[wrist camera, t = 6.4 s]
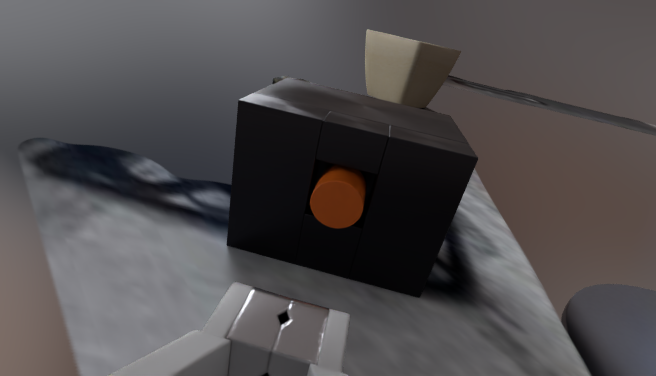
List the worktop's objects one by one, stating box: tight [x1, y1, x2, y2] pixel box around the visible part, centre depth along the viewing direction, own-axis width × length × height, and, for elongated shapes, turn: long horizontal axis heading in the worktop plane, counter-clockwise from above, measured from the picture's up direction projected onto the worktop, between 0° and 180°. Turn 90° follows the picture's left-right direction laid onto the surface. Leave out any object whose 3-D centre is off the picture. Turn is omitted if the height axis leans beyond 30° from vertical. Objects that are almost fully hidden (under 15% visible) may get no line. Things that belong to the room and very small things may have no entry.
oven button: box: [310, 164, 367, 228], centre depth 25 cm, size 4×3×4 cm
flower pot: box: [365, 30, 461, 108], centre depth 96 cm, size 19×19×17 cm
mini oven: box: [227, 78, 478, 298], centre depth 30 cm, size 17×12×12 cm
